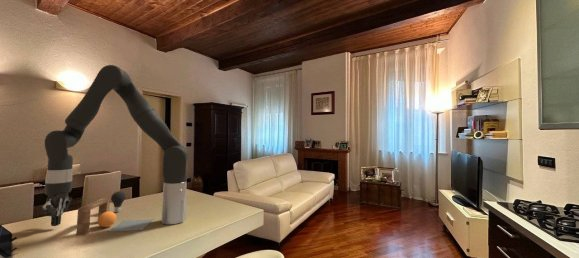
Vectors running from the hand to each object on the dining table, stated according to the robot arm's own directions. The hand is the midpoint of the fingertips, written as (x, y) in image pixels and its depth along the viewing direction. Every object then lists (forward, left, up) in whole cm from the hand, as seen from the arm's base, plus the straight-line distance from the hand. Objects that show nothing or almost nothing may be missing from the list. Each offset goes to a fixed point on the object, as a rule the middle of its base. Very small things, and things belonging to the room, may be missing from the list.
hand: (55, 225), depth 89 cm
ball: (-18, 0, +2) cm, 18 cm away
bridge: (-13, 0, -2) cm, 13 cm away
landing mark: (-27, 0, -2) cm, 27 cm away
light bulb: (-12, -20, -2) cm, 23 cm away
